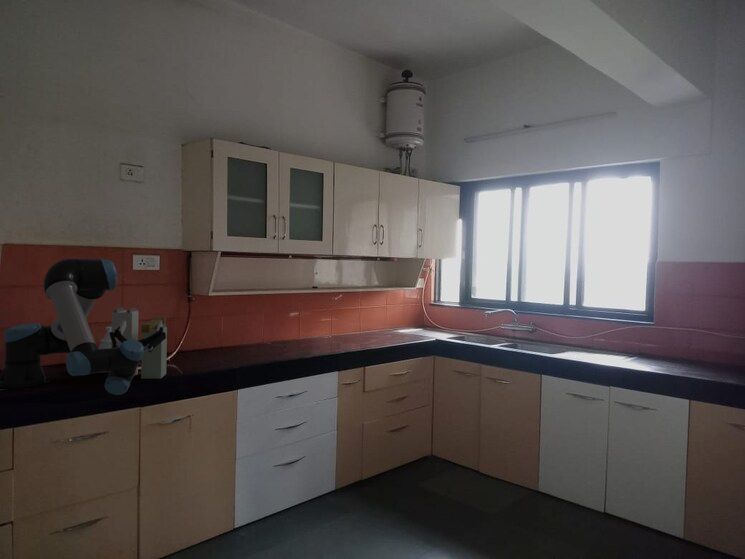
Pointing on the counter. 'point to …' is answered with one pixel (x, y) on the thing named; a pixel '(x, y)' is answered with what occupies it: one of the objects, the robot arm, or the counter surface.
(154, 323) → the brass pin
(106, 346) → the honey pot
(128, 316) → the block
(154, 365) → the upright grey pillar
